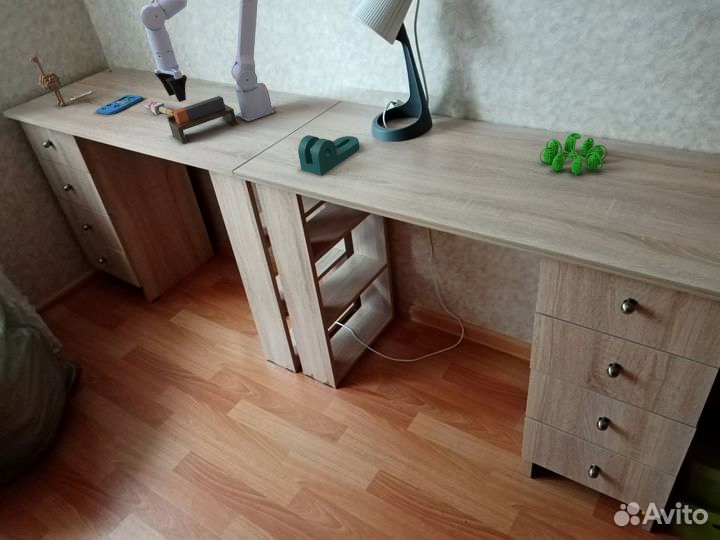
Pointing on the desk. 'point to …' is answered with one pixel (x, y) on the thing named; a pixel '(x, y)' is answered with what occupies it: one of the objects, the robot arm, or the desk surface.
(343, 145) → the bracket
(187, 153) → the desk surface
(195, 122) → the shelf
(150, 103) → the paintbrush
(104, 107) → the handheld gaming device
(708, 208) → the desk surface
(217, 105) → the marker
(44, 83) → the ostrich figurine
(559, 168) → the chandelier
